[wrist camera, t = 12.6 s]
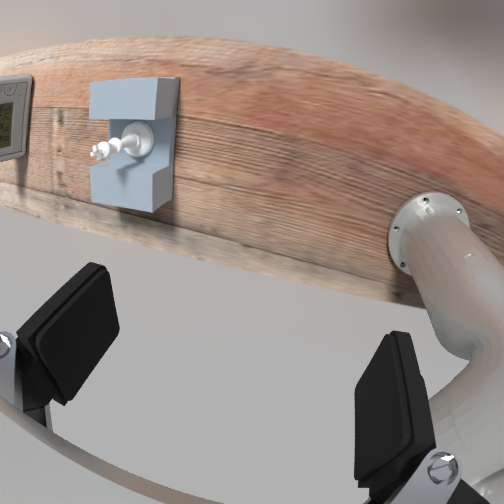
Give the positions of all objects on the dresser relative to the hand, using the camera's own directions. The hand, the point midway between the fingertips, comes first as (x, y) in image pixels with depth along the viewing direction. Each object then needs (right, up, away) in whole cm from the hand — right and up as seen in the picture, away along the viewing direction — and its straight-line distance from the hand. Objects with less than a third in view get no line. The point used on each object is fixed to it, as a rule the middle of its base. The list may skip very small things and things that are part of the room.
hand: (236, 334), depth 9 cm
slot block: (-15, +18, +28) cm, 37 cm away
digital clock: (-42, +28, +30) cm, 58 cm away
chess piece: (-15, +18, +27) cm, 36 cm away
